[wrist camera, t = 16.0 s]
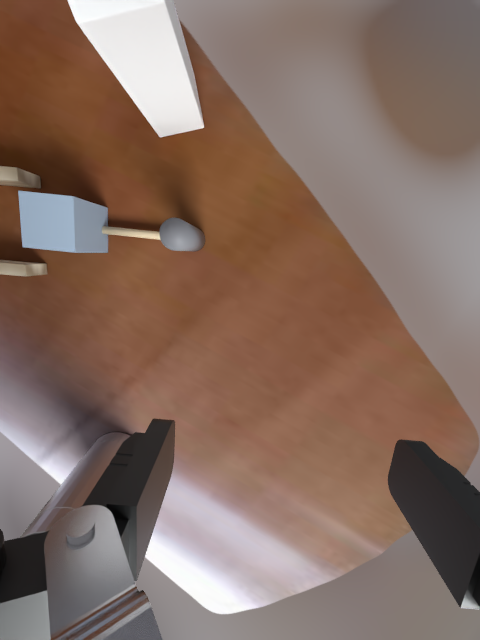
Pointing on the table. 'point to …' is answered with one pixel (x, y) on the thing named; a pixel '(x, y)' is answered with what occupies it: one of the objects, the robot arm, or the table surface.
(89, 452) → the robot arm
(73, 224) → the block
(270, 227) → the table surface
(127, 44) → the milk
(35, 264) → the frame
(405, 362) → the table surface
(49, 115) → the table surface
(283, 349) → the table surface
